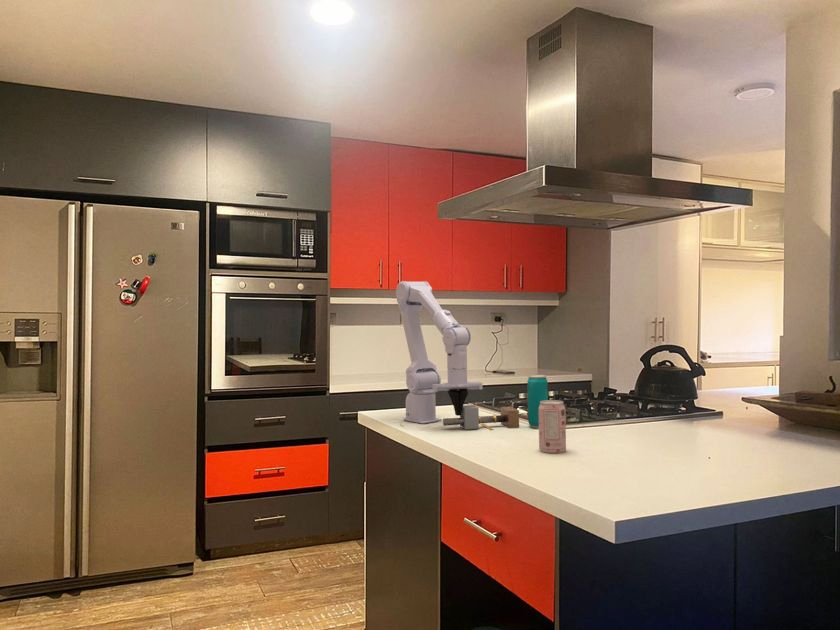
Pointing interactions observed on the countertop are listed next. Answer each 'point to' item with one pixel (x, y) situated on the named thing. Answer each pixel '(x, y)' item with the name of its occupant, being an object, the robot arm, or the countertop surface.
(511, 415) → the pipe rig
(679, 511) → the countertop surface
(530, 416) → the beverage can
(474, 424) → the sleeve
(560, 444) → the beverage can
